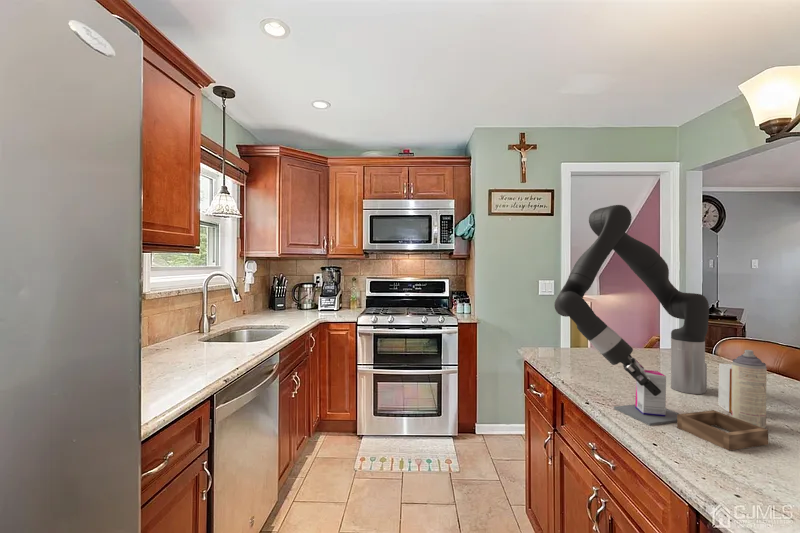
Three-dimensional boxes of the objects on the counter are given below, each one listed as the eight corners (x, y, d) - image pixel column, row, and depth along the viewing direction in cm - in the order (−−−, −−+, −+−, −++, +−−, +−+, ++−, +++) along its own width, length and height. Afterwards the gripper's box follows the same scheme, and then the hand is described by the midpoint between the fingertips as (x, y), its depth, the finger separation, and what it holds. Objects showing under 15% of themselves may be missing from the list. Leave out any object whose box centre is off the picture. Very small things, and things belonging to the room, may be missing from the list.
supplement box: (666, 417, 103) (666, 375, 103) (642, 415, 105) (643, 374, 105) (657, 409, 109) (657, 370, 109) (634, 407, 110) (634, 368, 110)
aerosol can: (763, 424, 101) (763, 349, 100) (768, 433, 95) (769, 354, 95) (729, 417, 105) (730, 346, 104) (733, 426, 99) (733, 351, 99)
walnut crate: (713, 423, 101) (713, 410, 101) (768, 444, 89) (768, 429, 89) (677, 427, 98) (677, 414, 98) (729, 450, 86) (729, 435, 86)
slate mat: (651, 404, 114) (651, 402, 114) (690, 420, 103) (690, 418, 103) (613, 408, 111) (613, 406, 111) (649, 425, 99) (649, 423, 99)
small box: (729, 413, 108) (729, 368, 108) (717, 405, 114) (718, 362, 114) (763, 416, 105) (764, 370, 105) (750, 408, 112) (750, 365, 111)
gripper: (622, 341, 104) (672, 388, 99) (619, 333, 117) (663, 374, 111) (600, 358, 106) (648, 405, 101) (600, 348, 119) (642, 389, 114)
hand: (656, 389), depth 106 cm, fingers open, 8 cm apart
